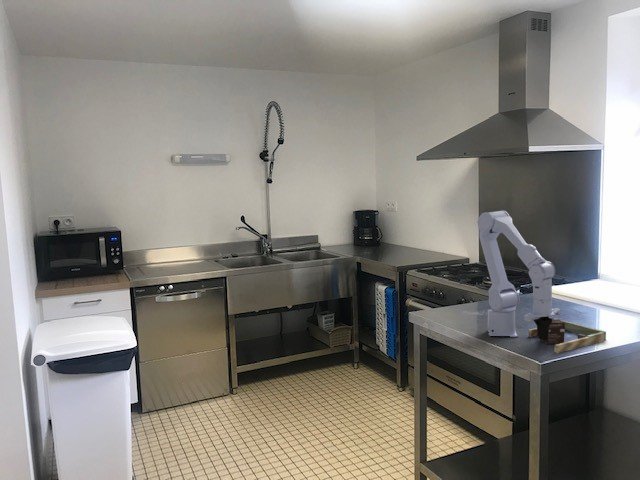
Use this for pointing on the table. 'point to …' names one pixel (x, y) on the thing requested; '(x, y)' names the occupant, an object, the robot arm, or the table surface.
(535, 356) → the table surface
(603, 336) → the wooden frame
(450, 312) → the table surface
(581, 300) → the table surface
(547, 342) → the box
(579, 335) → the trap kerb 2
